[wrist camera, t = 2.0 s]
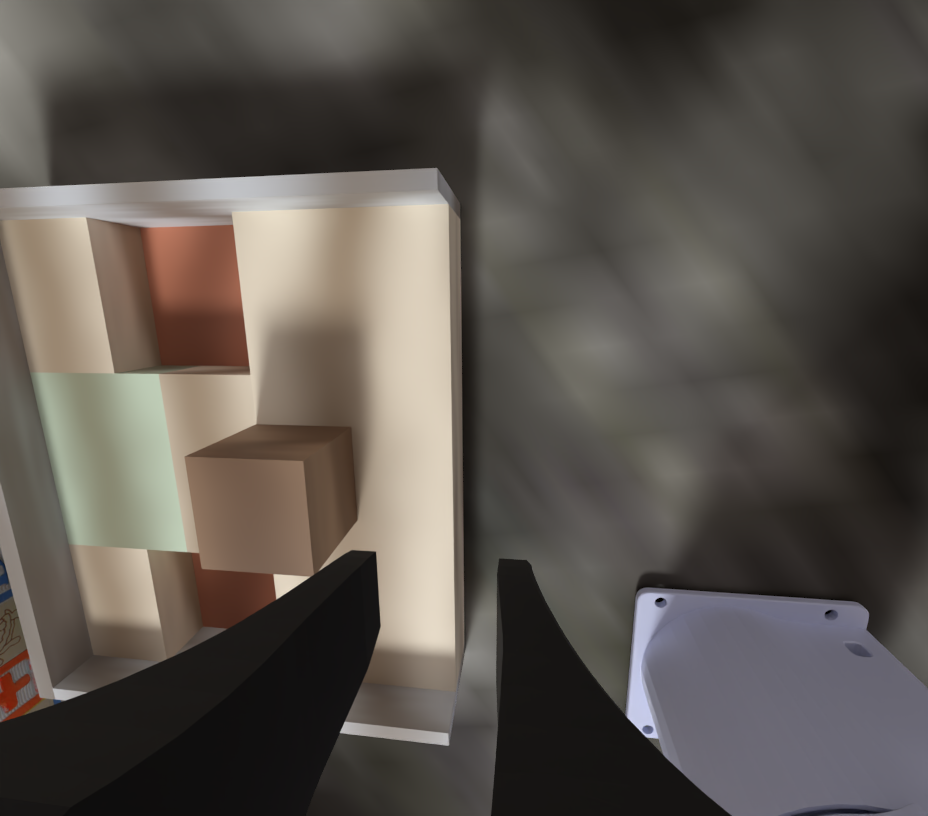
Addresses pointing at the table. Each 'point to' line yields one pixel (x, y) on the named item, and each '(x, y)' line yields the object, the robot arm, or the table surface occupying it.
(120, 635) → the board
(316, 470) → the walnut block
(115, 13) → the table surface
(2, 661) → the stack of blocks
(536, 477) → the table surface
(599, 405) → the table surface
